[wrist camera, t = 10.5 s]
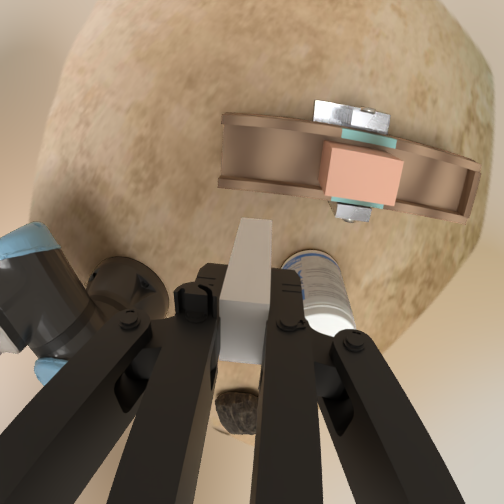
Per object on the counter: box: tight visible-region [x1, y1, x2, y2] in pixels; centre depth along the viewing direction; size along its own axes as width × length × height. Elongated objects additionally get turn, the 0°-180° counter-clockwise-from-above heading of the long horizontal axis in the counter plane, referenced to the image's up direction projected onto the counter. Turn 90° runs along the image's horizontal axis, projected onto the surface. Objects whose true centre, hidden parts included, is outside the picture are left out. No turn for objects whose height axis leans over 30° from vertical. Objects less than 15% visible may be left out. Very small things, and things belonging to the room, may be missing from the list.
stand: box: [313, 100, 390, 223], centre depth 34 cm, size 10×13×8 cm
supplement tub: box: [281, 250, 356, 337], centre depth 40 cm, size 10×10×15 cm
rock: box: [215, 392, 258, 435], centre depth 59 cm, size 10×11×10 cm
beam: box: [218, 112, 482, 225], centre depth 33 cm, size 30×8×8 cm, turn 85°
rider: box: [318, 140, 404, 206], centre depth 29 cm, size 7×4×6 cm, turn 85°
